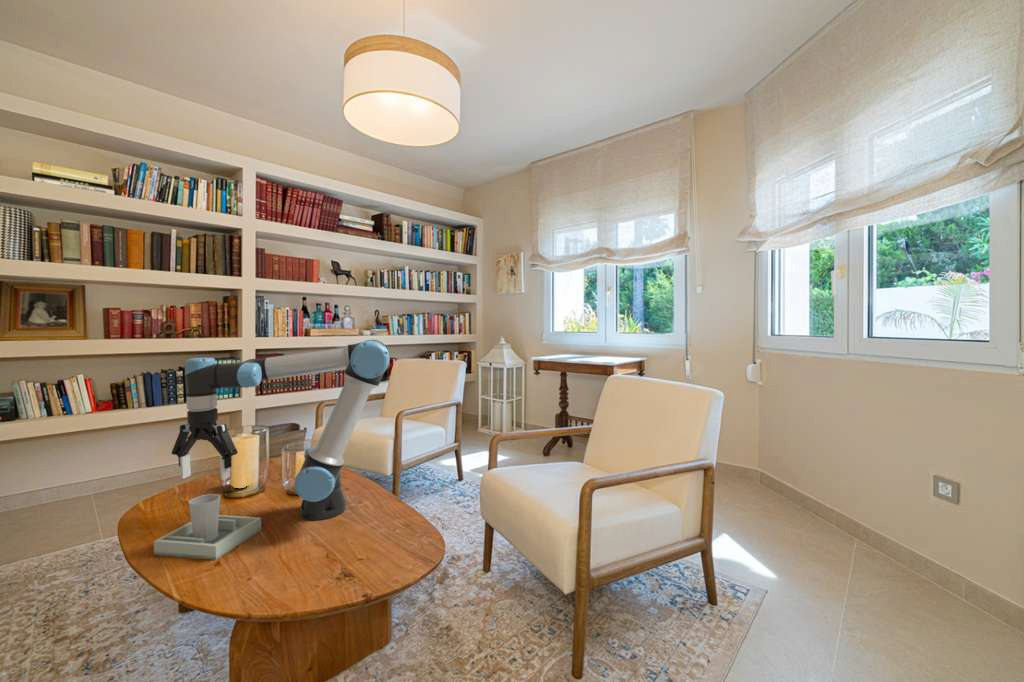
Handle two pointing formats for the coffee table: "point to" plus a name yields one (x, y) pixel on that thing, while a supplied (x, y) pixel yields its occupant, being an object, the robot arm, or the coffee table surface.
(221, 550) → the box
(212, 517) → the cup
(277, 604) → the coffee table surface
